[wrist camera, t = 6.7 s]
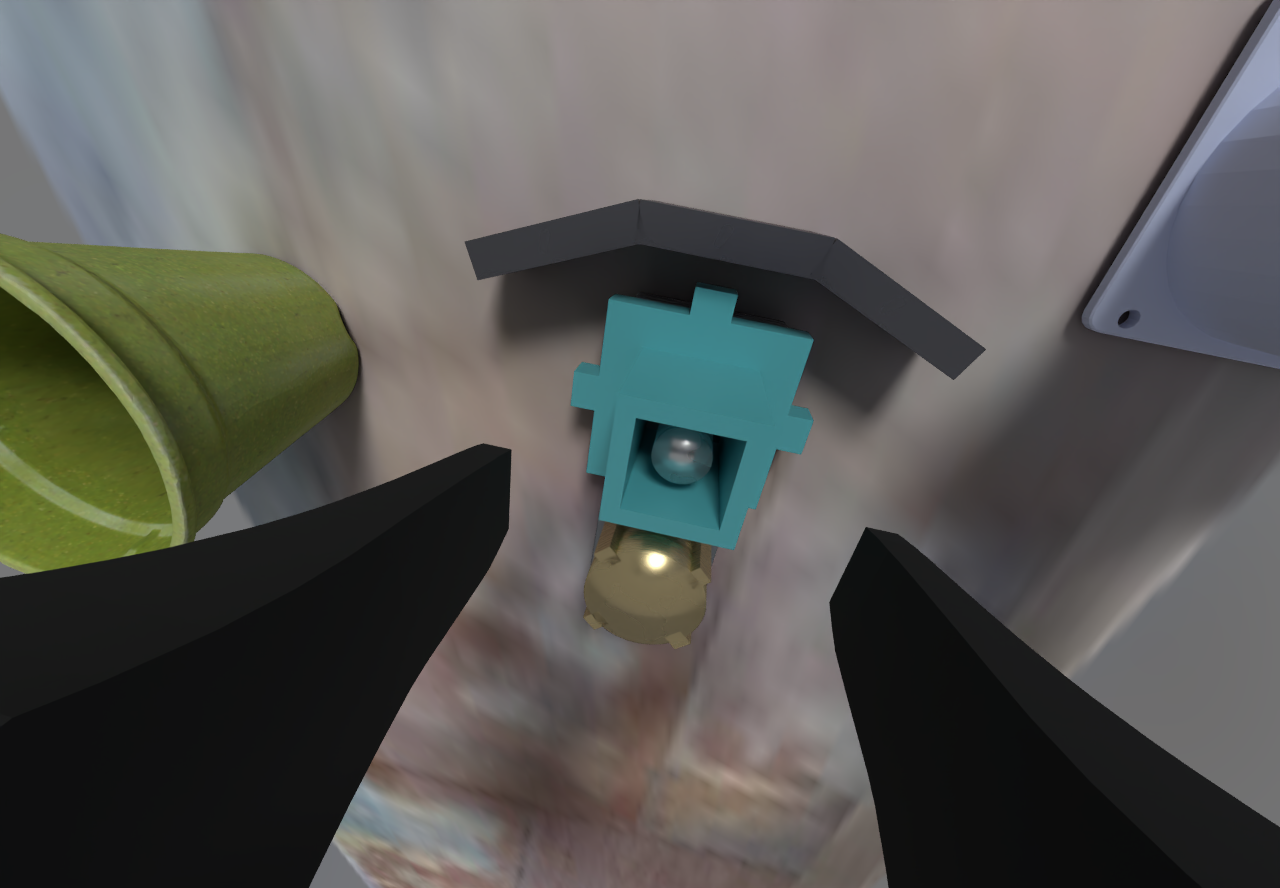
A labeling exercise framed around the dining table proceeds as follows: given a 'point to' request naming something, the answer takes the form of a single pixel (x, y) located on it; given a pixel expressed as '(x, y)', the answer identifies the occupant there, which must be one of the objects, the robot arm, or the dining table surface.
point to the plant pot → (149, 391)
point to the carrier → (661, 564)
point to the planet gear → (691, 410)
